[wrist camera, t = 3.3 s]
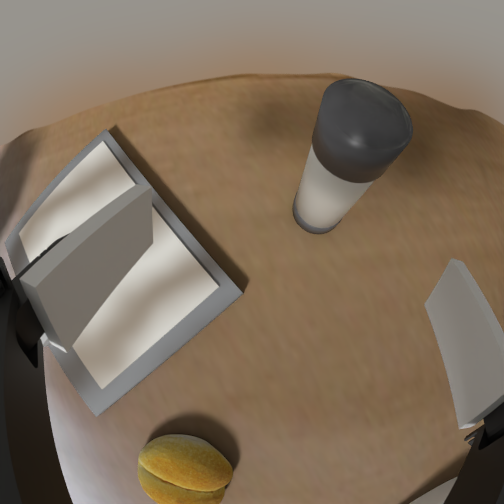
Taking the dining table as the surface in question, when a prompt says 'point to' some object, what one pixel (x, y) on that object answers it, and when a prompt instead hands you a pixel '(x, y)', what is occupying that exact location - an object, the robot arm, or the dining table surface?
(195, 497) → the bread roll
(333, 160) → the white grey cylinder
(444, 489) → the white hollow ring
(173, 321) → the clipboard
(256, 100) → the dining table surface
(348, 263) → the dining table surface
